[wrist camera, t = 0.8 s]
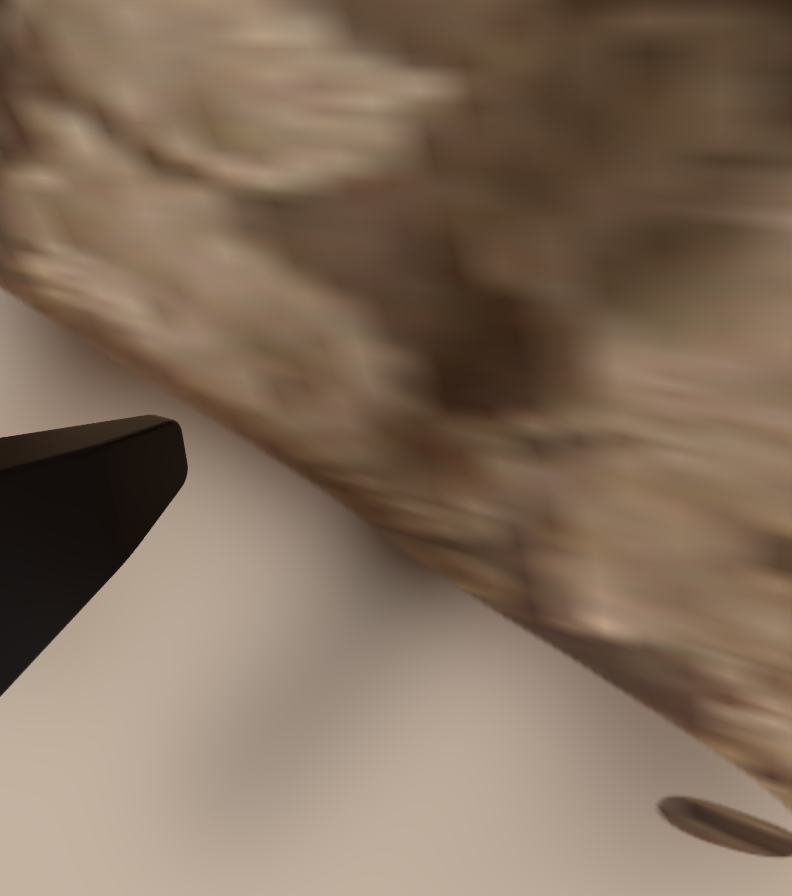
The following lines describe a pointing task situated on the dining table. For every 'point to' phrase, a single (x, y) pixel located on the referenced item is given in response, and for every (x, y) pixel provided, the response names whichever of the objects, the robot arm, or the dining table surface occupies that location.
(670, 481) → the dining table surface
